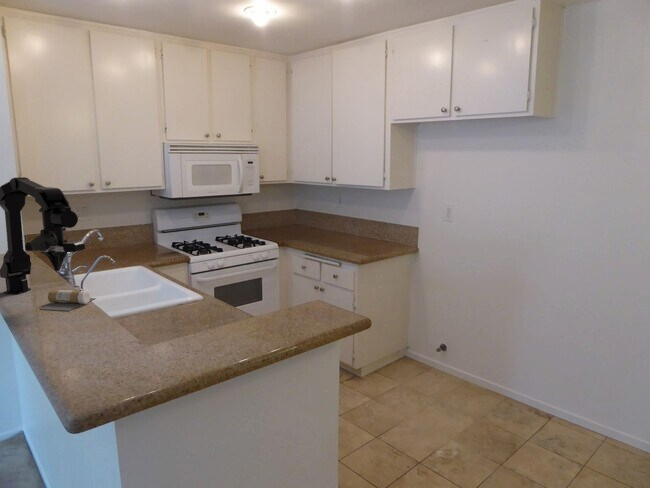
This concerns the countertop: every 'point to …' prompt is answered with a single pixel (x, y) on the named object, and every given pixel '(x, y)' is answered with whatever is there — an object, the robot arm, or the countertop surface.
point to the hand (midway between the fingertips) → (57, 270)
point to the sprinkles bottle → (69, 296)
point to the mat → (63, 306)
